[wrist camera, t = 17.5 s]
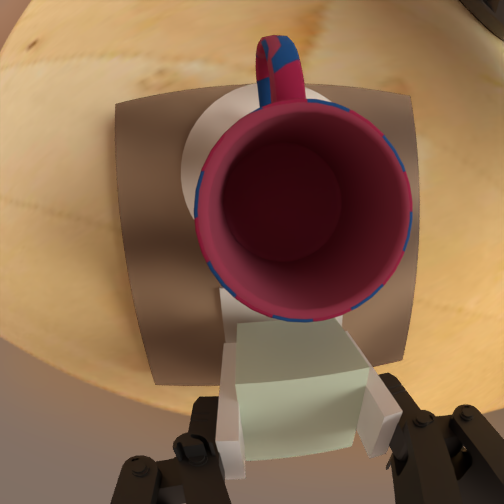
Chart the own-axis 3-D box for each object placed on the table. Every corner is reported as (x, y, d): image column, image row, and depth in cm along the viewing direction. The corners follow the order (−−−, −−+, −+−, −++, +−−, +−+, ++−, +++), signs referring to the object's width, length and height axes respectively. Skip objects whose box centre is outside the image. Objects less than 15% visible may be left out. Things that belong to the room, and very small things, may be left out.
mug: (219, 267, 15) (203, 328, 8) (213, 82, 13) (193, 12, 6) (342, 262, 15) (403, 312, 9) (336, 84, 13) (393, 28, 6)
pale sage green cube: (244, 396, 15) (245, 460, 10) (237, 323, 14) (235, 384, 9) (327, 387, 15) (351, 446, 10) (333, 314, 14) (369, 367, 9)
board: (125, 110, 14) (113, 102, 13) (398, 101, 15) (412, 94, 13) (160, 372, 18) (154, 387, 17) (393, 350, 19) (404, 362, 17)
